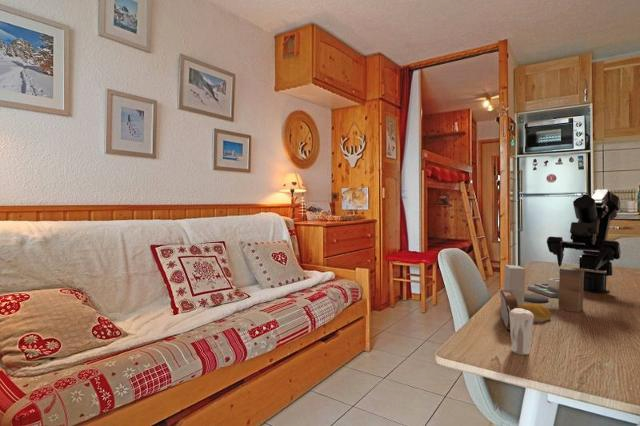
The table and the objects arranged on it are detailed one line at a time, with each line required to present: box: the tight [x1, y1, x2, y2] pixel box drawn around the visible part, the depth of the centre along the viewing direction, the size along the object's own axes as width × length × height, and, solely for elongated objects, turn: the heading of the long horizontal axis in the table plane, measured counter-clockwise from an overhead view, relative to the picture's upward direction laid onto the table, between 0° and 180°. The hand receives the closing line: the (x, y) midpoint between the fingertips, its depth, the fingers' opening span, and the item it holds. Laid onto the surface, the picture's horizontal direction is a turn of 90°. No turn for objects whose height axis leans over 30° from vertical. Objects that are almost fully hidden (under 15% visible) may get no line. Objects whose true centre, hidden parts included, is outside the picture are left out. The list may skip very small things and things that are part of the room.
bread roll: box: [518, 302, 552, 323], centre depth 101 cm, size 8×9×4 cm
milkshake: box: [508, 306, 534, 356], centre depth 78 cm, size 4×5×10 cm
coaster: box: [524, 293, 549, 304], centre depth 120 cm, size 9×9×1 cm
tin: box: [499, 289, 518, 331], centre depth 95 cm, size 15×3×8 cm, turn 160°
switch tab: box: [547, 277, 560, 290], centre depth 127 cm, size 4×4×4 cm
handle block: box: [558, 266, 584, 313], centre depth 109 cm, size 5×5×12 cm
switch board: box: [527, 282, 559, 298], centre depth 129 cm, size 12×11×2 cm
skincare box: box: [503, 264, 526, 306], centre depth 112 cm, size 6×4×12 cm
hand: (576, 267), depth 113 cm, fingers open, 9 cm apart
